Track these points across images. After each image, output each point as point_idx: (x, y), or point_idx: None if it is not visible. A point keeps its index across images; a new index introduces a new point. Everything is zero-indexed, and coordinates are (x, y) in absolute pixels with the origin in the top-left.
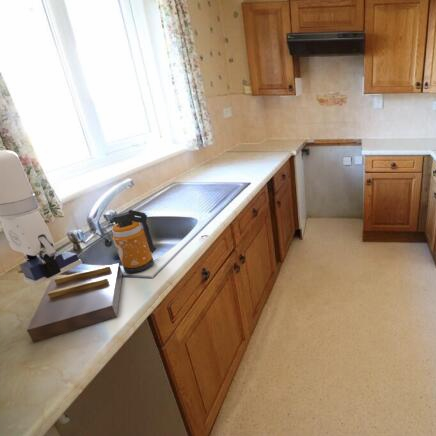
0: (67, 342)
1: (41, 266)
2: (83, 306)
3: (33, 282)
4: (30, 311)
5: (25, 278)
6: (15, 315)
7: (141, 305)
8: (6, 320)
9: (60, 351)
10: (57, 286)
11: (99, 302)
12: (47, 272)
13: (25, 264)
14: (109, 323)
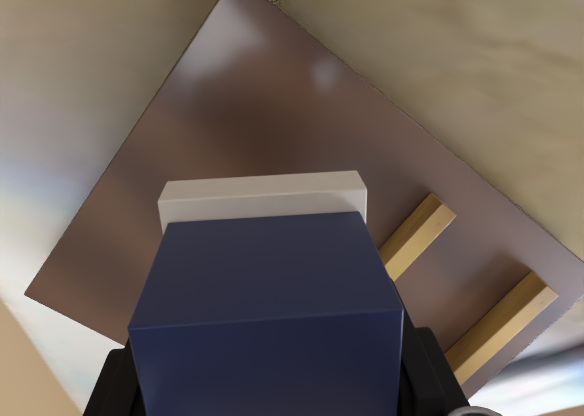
0: (72, 56)
1: (105, 402)
2: (160, 230)
3: (163, 198)
4: (522, 103)
5: (330, 198)
6: (570, 52)
7: (41, 342)
8: (577, 8)
9: (28, 2)
10: (501, 262)
11: (117, 282)
12: None
13: (323, 347)
14: (38, 218)
